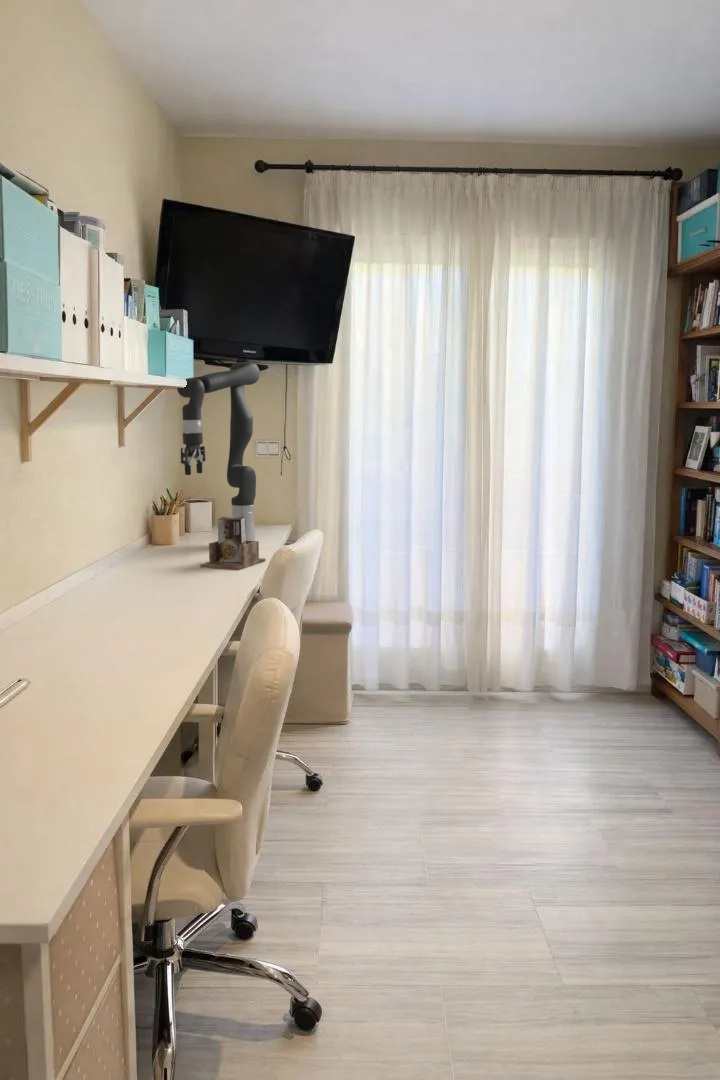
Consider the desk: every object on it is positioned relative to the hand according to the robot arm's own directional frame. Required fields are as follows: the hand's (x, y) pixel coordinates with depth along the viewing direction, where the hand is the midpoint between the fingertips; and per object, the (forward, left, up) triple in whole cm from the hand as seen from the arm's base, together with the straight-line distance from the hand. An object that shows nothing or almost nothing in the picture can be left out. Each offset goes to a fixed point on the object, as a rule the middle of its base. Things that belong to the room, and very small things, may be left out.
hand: (193, 474), depth 347 cm
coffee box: (+13, +24, -31) cm, 41 cm away
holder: (+13, +24, -32) cm, 42 cm away
